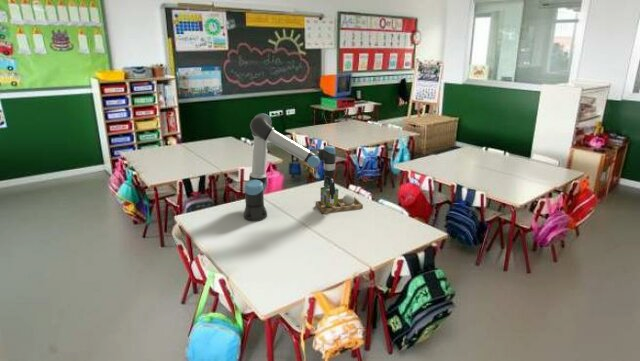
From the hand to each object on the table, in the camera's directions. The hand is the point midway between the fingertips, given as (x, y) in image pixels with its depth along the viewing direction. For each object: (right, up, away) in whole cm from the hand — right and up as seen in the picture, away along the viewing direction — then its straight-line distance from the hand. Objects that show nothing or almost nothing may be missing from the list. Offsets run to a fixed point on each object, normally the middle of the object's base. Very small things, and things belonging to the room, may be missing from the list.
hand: (329, 200), depth 276 cm
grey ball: (+13, -4, +6) cm, 15 cm away
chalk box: (0, -3, +1) cm, 3 cm away
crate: (+7, -5, +4) cm, 9 cm away
